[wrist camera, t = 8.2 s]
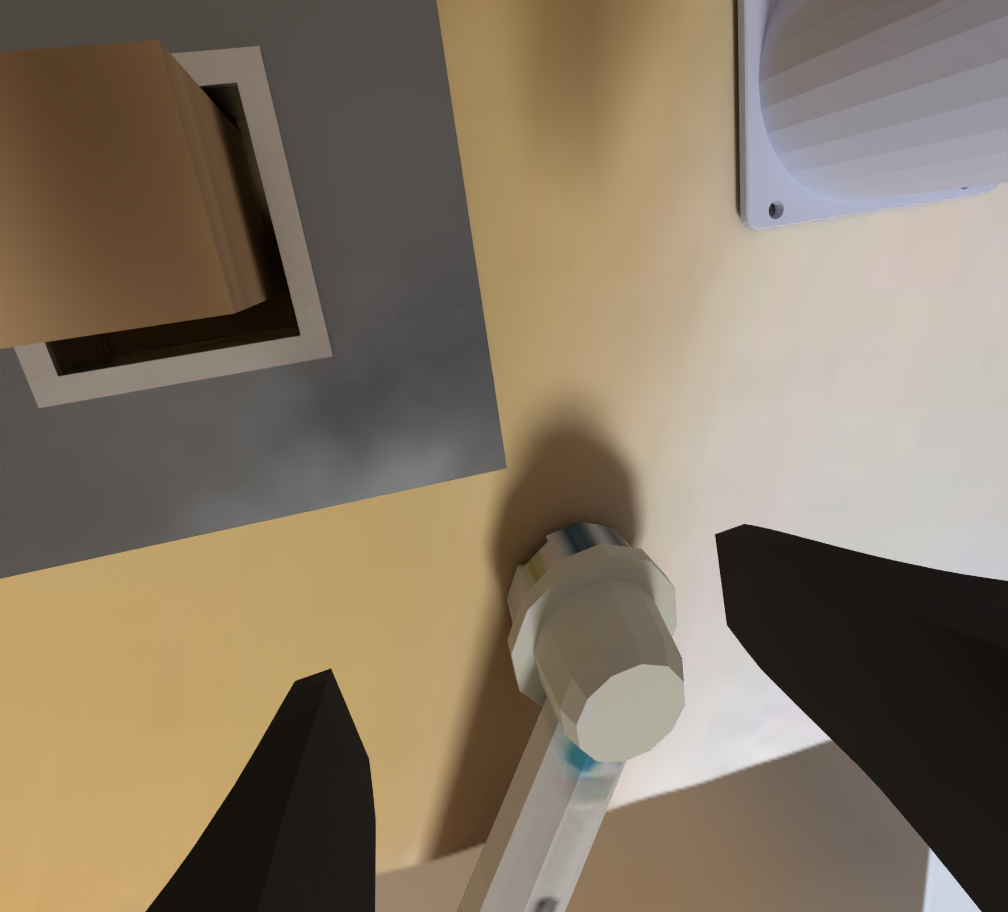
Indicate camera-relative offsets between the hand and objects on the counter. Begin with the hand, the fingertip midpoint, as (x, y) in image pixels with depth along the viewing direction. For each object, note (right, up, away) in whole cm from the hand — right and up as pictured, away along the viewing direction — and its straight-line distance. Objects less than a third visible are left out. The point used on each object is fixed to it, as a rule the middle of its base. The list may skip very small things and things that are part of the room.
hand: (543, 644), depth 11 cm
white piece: (-1, -10, +14) cm, 17 cm away
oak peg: (-9, +9, +5) cm, 14 cm away
